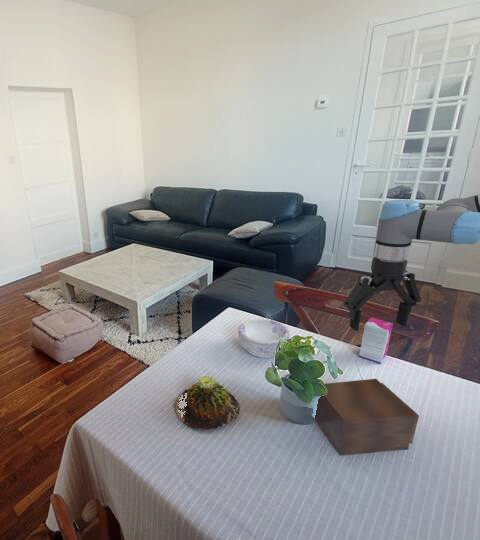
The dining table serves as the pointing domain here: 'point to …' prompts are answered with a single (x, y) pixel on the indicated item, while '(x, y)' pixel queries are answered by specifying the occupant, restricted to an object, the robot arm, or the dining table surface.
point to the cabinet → (364, 418)
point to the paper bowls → (262, 336)
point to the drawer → (413, 411)
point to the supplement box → (375, 340)
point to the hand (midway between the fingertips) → (377, 326)
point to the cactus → (208, 405)
